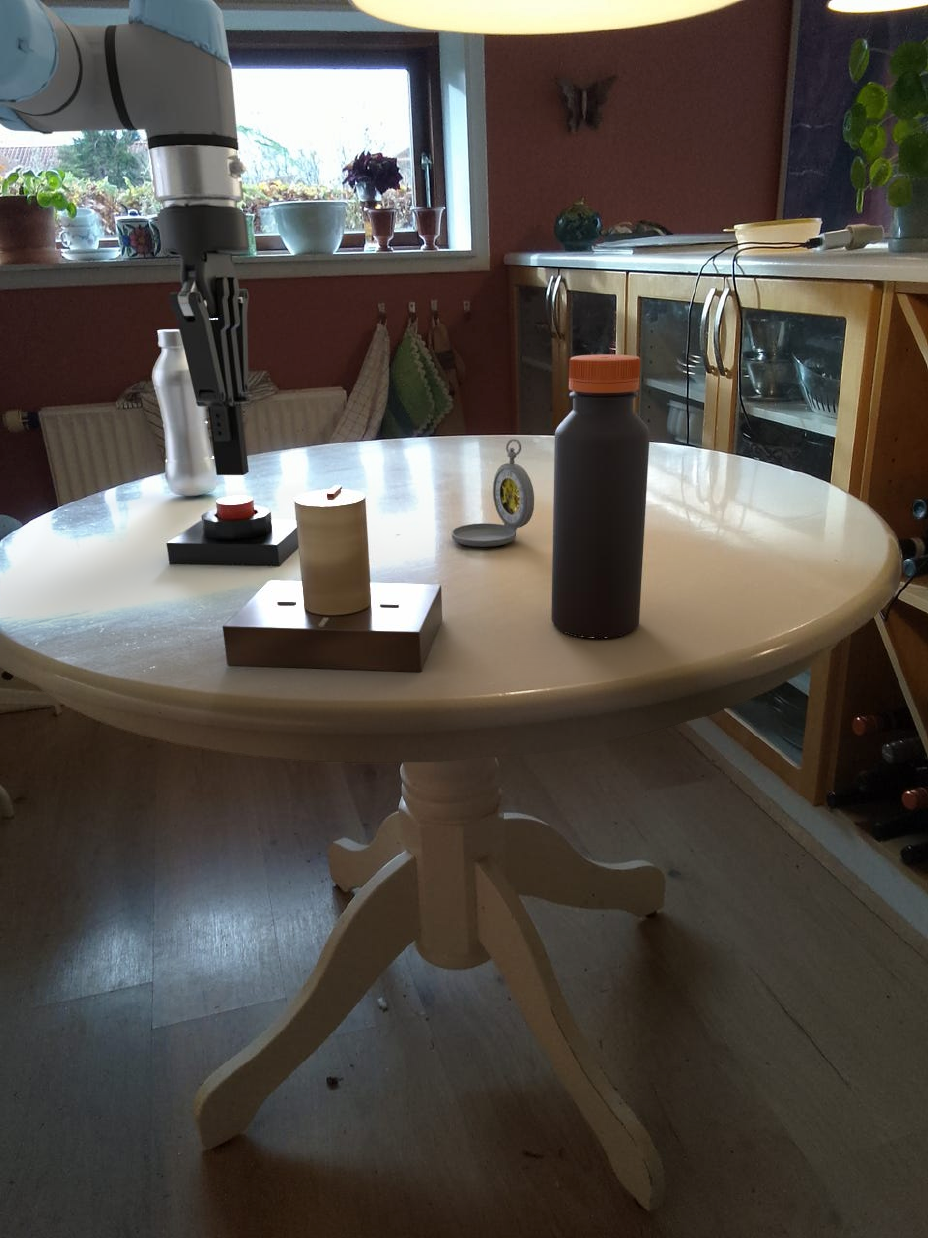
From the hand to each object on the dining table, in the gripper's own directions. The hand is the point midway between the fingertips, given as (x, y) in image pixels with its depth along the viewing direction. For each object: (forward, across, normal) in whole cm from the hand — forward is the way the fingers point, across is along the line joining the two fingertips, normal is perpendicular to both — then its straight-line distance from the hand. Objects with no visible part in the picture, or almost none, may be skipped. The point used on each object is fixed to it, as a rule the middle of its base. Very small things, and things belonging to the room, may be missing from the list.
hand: (232, 473), depth 86 cm
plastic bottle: (+8, +24, +15) cm, 29 cm away
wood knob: (+5, -22, -16) cm, 28 cm away
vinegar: (+8, -17, -35) cm, 40 cm away
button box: (+8, 0, 0) cm, 8 cm away
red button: (+4, 0, 0) cm, 4 cm away
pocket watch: (+8, +6, -25) cm, 27 cm away
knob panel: (+8, -22, -16) cm, 28 cm away
